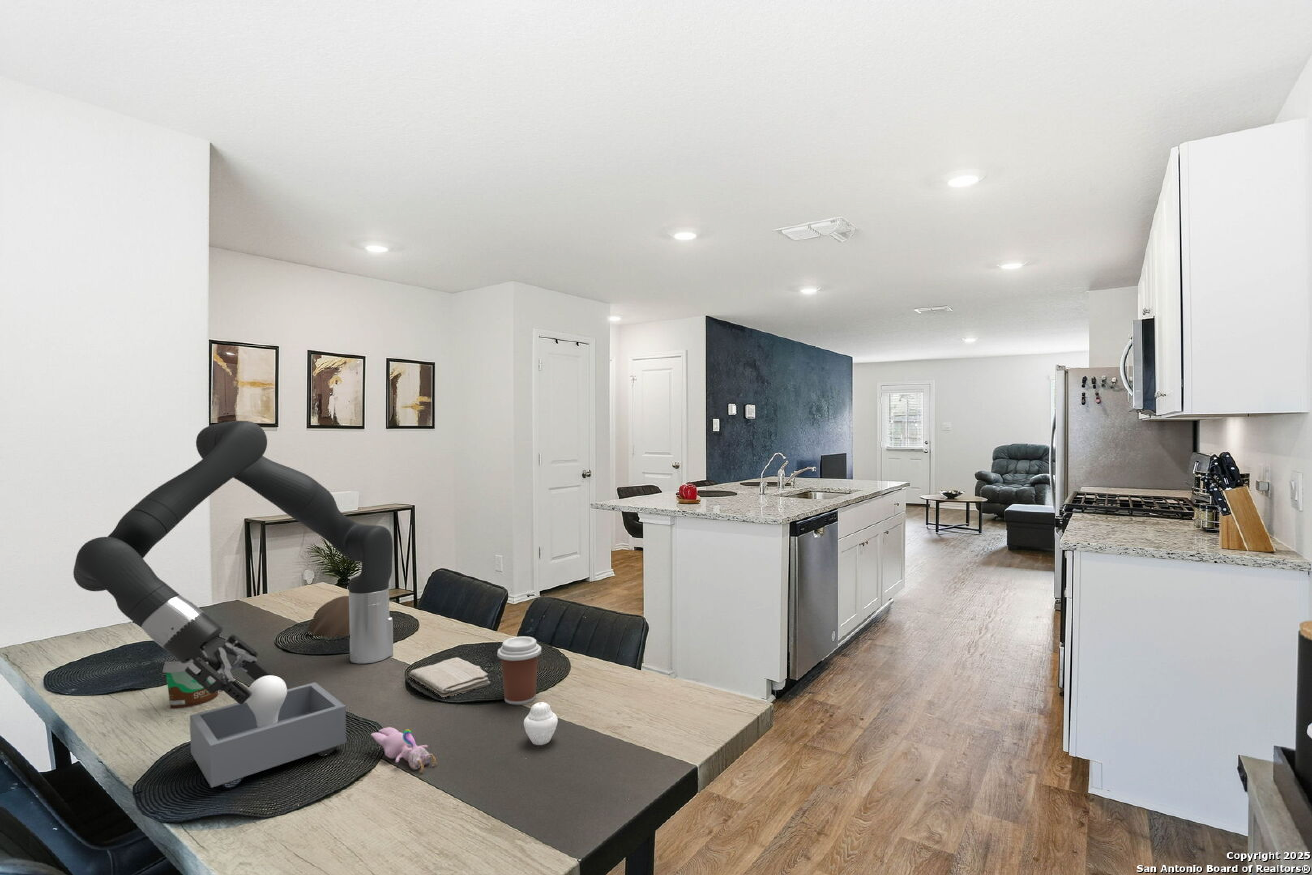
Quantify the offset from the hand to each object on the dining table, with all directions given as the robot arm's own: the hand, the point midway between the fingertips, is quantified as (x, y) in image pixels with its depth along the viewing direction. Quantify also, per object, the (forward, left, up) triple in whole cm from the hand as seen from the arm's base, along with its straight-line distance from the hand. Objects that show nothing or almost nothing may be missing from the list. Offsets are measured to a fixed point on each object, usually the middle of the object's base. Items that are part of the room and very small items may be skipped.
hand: (257, 689), depth 113 cm
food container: (+2, -37, -12) cm, 39 cm away
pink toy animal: (-17, +19, -12) cm, 28 cm away
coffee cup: (-45, +12, -12) cm, 49 cm away
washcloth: (-40, -8, -13) cm, 43 cm away
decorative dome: (-38, -66, -12) cm, 77 cm away
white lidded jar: (-37, +31, -12) cm, 50 cm away
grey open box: (-1, +1, -12) cm, 12 cm away
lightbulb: (-1, +1, -9) cm, 9 cm away
